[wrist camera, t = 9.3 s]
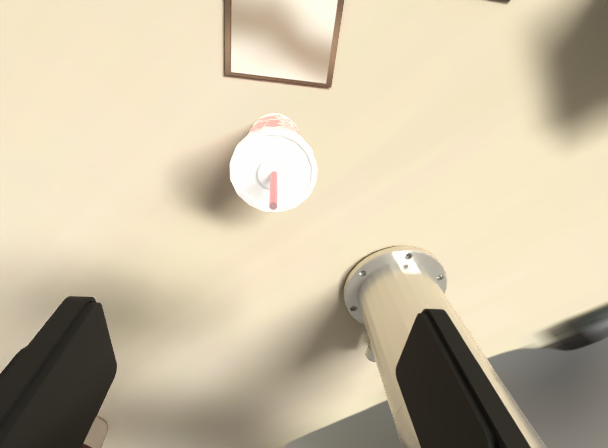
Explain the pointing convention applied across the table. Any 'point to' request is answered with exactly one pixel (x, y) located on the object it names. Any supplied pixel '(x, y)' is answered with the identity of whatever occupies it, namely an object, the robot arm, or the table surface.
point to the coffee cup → (96, 434)
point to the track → (282, 39)
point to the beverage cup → (273, 165)
